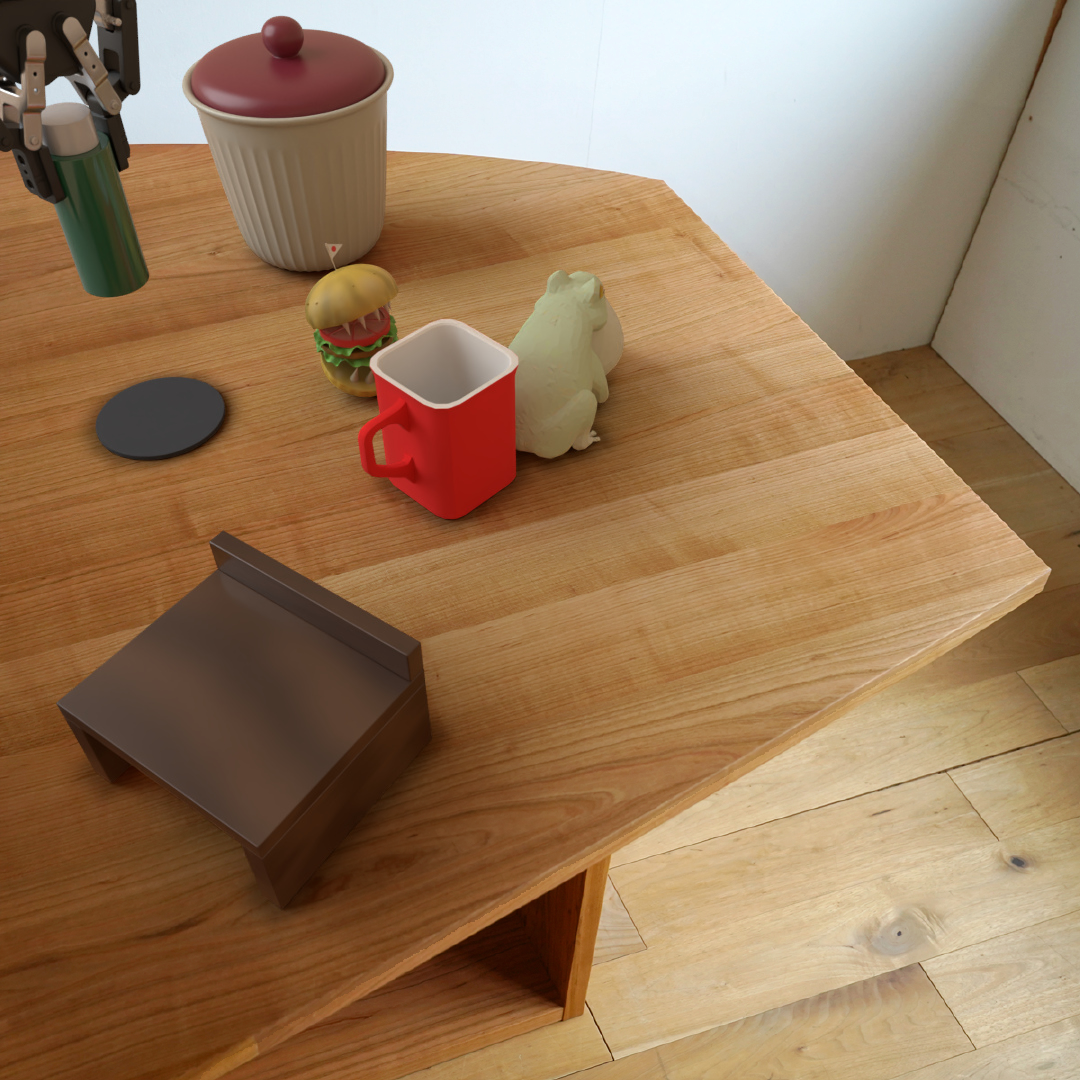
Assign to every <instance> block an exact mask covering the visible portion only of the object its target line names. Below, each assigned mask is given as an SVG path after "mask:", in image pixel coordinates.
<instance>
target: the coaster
mask: <svg viewBox="0 0 1080 1080" xmlns="http://www.w3.org/2000/svg"><path fill="white" fill-rule="evenodd" d="M225 417H226V405H225V401H224V398H223V397H222V395H221V393H220V392H219V391H218V390H217V389H216V388H214V387H213V386H212V385H211V384H209V383H207V382H205V381H203V380H200V379H196V378H191V377H183V376H167V377H166V376H165V377H157V378H153V379H148V380H144V381H142V382H138V383H135V384H133V385H131V386H129V387H127V388H125V389H123V390H121V391H120V392H117V394H115V395H114V396H112V397H111V398H110V399H109V400H108V401H107V402H106V403H105V404H104V405H103V406H102V407H101V409H100V410H99V412H98V414H97V417H96V420H95V432H96V436H97V438H98V440H99V442H100V444H101V445H102V446H104V448H105V449H106V450H108V451H109V452H111V453H113V454H114V455H116V456H119V457H123V458H125V459H131V460H136V461H137V460H138V461H154V460H164V459H169V458H172V457H177V456H180V455H183V454H185V453H188V452H190V451H192V450H194V449H196V448H199V447H200V446H202V445H203V444H205V443H206V442H207V441H208V440H210V439H211V438H212V437H213V436H215V434H216V433H217V432H218V431H219V429H221V427H222V425H223V423H224V420H225Z"/></svg>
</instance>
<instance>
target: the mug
mask: <svg viewBox="0 0 1080 1080" xmlns="http://www.w3.org/2000/svg"><path fill="white" fill-rule="evenodd" d="M518 365H519V362H518V356H517V355H516V354H515V353H514V352H513V351H512V350H510V349H508V347H507V346H505V345H503V344H501V343H500V342H498V341H496V340H494V339H493V338H491V337H489V336H487V335H486V334H484V333H482V332H481V331H479V330H477V329H475V328H474V327H472V326H470V325H469V324H467V323H465V322H463V321H460V320H458V319H454V318H440V319H436V320H434V321H430V322H429V323H427V324H425V325H423V326H422V327H420V328H418V329H416V330H414V331H412V332H410V333H409V334H406V336H403V337H402V338H400V339H398V341H397V342H395V343H393V344H391V345H389V346H388V347H386V348H384V349H382V350H381V351H379V352H377V353H376V354H375V355H374V356H373V357H372V358H371V359H370V368H371V370H372V372H373V375H374V377H375V383H376V391H377V396H376V398H377V405H378V413H379V414H377V415H376V416H375V417H373V418H372V419H370V420H369V421H367V422H366V423H365V424H363V426H362V427H361V428H360V429H359V431H358V434H357V443H358V444H357V445H358V450H359V457H360V463H361V464H360V465H361V467H362V469H363V471H364V473H366V474H368V475H369V476H371V478H372V477H373V478H379V479H380V478H382V479H383V478H384V479H385V478H387V479H388V480H389V481H390V483H391V484H392V486H394V487H395V488H396V489H399V490H400V491H401V493H404V494H405V495H407V496H408V497H409V498H411V499H412V500H413V501H415V502H417V503H418V504H419V505H420V506H422V507H423V508H424V509H426V510H428V511H429V512H430V513H432V514H433V515H435V516H436V517H438V518H442V519H444V520H457V519H459V518H461V517H464V516H466V515H468V514H469V513H471V512H472V511H473V510H475V509H476V508H478V507H479V506H481V505H482V504H483V503H484V502H486V501H488V500H489V499H490V498H492V497H493V496H495V495H496V494H497V493H499V492H500V491H501V490H503V489H504V488H506V487H507V486H509V485H510V484H511V483H512V482H513V481H514V480H515V478H516V477H517V449H516V426H515V374H516V371H517V368H518ZM379 431H381V436H382V443H383V451H384V458H385V464H380V463H379V464H378V463H377V460H376V457H375V456H376V455H375V450H374V444H373V442H374V441H373V439H374V437H375V436H376V434H377V433H378V432H379Z"/></svg>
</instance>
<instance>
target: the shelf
mask: <svg viewBox="0 0 1080 1080" xmlns="http://www.w3.org/2000/svg"><path fill="white" fill-rule="evenodd" d="M208 543H209V546H210V550H211V553H212V557H213V559H214V562H215V566H216V568H217V569H215V570H214V571H213V572H212V573H211V574H209V575H208V576H207V577H205V579H203V580H202V581H201V582H200V583H199V584H198V585H196V586H195V587H194V588H193V589H191V590H190V591H189V592H188V593H187V594H185V595H184V596H183V597H182V598H181V599H180V600H178V601H177V602H176V603H174V604H173V605H172V606H171V607H169V608H168V609H167V610H166V611H165V612H164V613H163V614H161V615H160V616H159V617H158V618H156V619H155V620H154V621H153V622H152V623H150V624H149V625H148V626H147V627H146V628H144V629H143V630H142V631H141V632H139V633H138V634H137V635H136V636H135V637H134V638H132V639H131V640H130V641H129V642H127V643H126V644H125V645H124V646H123V647H121V649H119V650H118V651H116V652H115V654H113V655H112V656H111V657H109V658H108V659H107V660H106V661H105V662H103V663H102V664H101V665H100V666H99V667H98V668H96V669H95V670H94V671H92V672H91V673H90V674H89V675H88V676H87V677H85V678H84V679H83V680H81V681H80V682H79V683H78V684H77V685H75V686H74V688H72V689H71V690H69V692H67V693H66V694H65V695H63V696H62V697H61V698H60V699H59V700H57V702H56V706H57V707H58V710H59V712H60V713H61V714H62V716H63V718H64V720H65V721H66V723H67V725H68V727H69V729H70V730H71V733H72V734H73V735H74V737H75V739H76V742H77V743H78V745H79V746H80V747H81V750H82V751H83V753H84V754H85V757H86V758H87V760H88V762H89V764H90V766H91V767H92V770H93V771H94V772H95V773H96V774H98V776H100V777H102V778H103V779H104V780H106V781H107V782H108V783H110V784H113V783H114V782H115V781H116V780H117V779H118V778H120V776H121V775H123V774H124V773H125V772H126V771H127V770H129V768H130V767H131V766H132V767H134V768H135V769H137V770H138V771H139V772H141V773H142V774H144V775H145V776H146V777H148V778H149V779H150V780H152V781H153V782H155V783H156V784H157V785H158V786H160V787H162V788H163V789H164V790H166V791H167V792H169V793H170V794H171V795H173V796H174V797H176V799H178V800H179V801H180V802H182V803H184V804H185V805H187V806H188V807H190V809H192V810H194V811H195V812H196V813H197V814H199V815H200V816H202V817H203V818H205V819H206V820H207V821H209V822H210V823H211V824H213V825H215V826H216V827H217V828H218V829H220V830H221V831H223V832H224V833H225V834H227V835H228V836H229V837H231V838H232V839H233V840H235V841H237V842H238V843H239V844H240V845H241V847H242V850H243V853H244V855H245V857H246V860H247V862H248V865H249V867H250V869H251V871H252V875H253V876H254V879H255V881H256V884H257V886H258V888H259V891H260V893H261V896H263V897H264V898H266V899H267V900H268V901H269V902H270V903H272V904H273V905H275V906H276V907H277V908H279V909H280V910H283V909H284V908H285V907H286V906H287V904H289V903H290V902H291V900H292V899H293V898H294V897H295V896H296V894H297V893H298V892H299V891H300V890H301V889H302V888H303V886H304V885H305V884H306V883H307V882H308V881H309V880H310V878H311V877H312V876H313V875H314V874H315V873H316V872H317V871H318V870H319V868H320V867H321V866H322V865H323V864H324V863H325V861H326V860H327V859H328V858H329V857H330V855H331V854H332V853H333V852H334V851H335V850H336V849H337V848H338V846H339V845H340V844H341V843H342V842H343V841H344V840H345V839H346V837H347V836H348V835H349V834H350V833H351V832H352V830H353V829H354V828H355V827H356V826H357V825H358V823H359V822H360V821H361V820H362V819H363V818H364V817H365V815H366V814H368V812H369V811H370V810H371V808H373V807H374V806H375V804H376V803H377V802H378V801H379V800H380V799H381V797H382V796H383V795H384V794H385V792H387V790H388V789H389V788H390V787H391V786H392V785H393V784H394V782H395V781H396V780H397V779H398V778H399V776H401V775H402V773H403V772H404V771H405V770H406V769H407V767H408V766H409V765H410V764H411V763H413V761H414V759H416V757H417V756H418V755H419V754H420V753H421V751H422V750H423V749H424V748H425V747H426V746H427V744H428V743H429V742H430V741H431V740H432V739H433V736H432V735H433V732H432V725H431V716H430V709H429V708H430V707H429V700H428V699H429V698H428V692H427V691H428V689H427V682H426V672H425V668H424V658H423V650H422V642H421V641H420V640H418V639H417V638H414V637H412V636H411V635H409V634H407V633H406V632H404V631H402V630H400V629H398V628H396V627H395V626H393V625H391V624H389V623H388V622H387V621H384V620H383V619H380V618H379V617H377V616H375V615H373V614H372V613H370V612H368V611H367V610H365V609H363V608H362V607H360V606H358V605H356V604H354V603H353V602H351V601H349V600H347V599H345V598H344V597H342V596H340V595H339V594H337V593H335V592H333V591H331V590H330V589H328V588H326V587H324V586H322V585H320V584H319V583H317V582H316V581H314V580H312V579H310V578H308V577H306V576H305V575H304V574H301V573H299V572H297V571H296V570H294V569H292V568H290V567H289V566H287V565H285V564H284V563H282V562H280V561H278V560H276V559H275V558H273V557H271V556H269V555H268V554H267V553H264V552H262V551H260V550H258V548H255V547H253V546H252V545H250V544H248V543H246V542H245V541H243V540H242V539H239V538H238V537H237V536H234V535H232V534H231V533H229V532H227V531H226V530H222V531H220V532H219V533H218V534H217V535H215V536H214V537H213V538H211V539H210V540H209V541H208Z"/></svg>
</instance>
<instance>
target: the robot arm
mask: <svg viewBox="0 0 1080 1080" xmlns="http://www.w3.org/2000/svg"><path fill="white" fill-rule="evenodd" d="M137 5H138V4H137V0H0V152H2V153H9V152H11V153H12V155H13V158H14V160H15V163H16V166H17V168H18V171H19V173H20V176H21V179H22V182H23V184H24V187H25V188H26V189H27V191H28V192H29V193H30V194H33V195H35V196H37V197H38V198H39V199H41V200H43V201H45V202H48V203H50V204H52V205H53V204H57V203H59V202H61V201H63V200H65V194H64V191H63V189H62V186H61V183H60V180H59V177H58V174H57V171H56V168H55V165H54V162H53V159H52V157H51V154H50V151H49V148H48V146H46V145H43V144H42V143H43V138H42V119H41V113H42V111H43V110H45V108H46V106H47V99H46V97H47V96H46V95H47V94H46V87H47V86H49V85H51V84H52V83H53V82H54V81H55V80H57V79H58V78H61V77H63V78H65V79H66V80H67V81H68V82H69V83H70V84H71V86H72V87H73V89H74V90H75V92H76V93H77V95H78V97H79V99H80V100H81V101H82V104H84V105H86V106H88V107H89V109H90V111H91V114H92V117H93V121H94V124H95V127H96V130H97V131H100V132H103V133H104V134H106V135H107V136H108V138H109V140H110V144H111V147H112V150H113V154H114V157H115V160H116V164H117V167H118V170H119V173H121V172H123V171H126V170H128V169H129V168H130V164H129V163H130V162H129V160H128V159H129V158H131V147H130V143H129V141H128V136H127V132H126V129H125V126H124V122H123V119H122V115H121V111H122V108H123V102H124V101H125V100H126V99H127V98H128V97H129V96H136V95H138V94H139V93H140V90H141V67H140V65H141V64H140V47H139V46H140V44H139V24H138V23H139V22H138V6H137ZM93 24H95V25H96V31H97V32H96V33H97V34H96V35H97V48H98V54H97V53H96V50H95V49H94V47H93V46H92V44H91V43H90V37H91V34H92V29H93ZM17 84H19V85H20V86H21V89H20V88H19V87H18V85H17Z"/></svg>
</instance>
